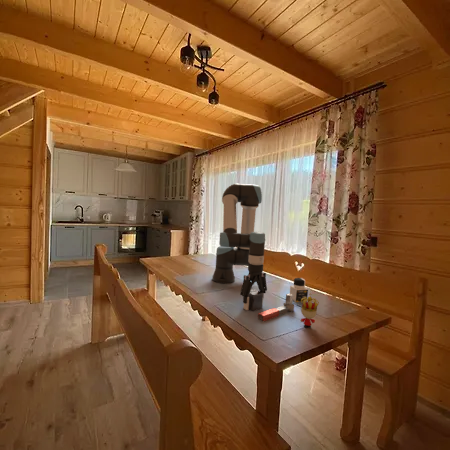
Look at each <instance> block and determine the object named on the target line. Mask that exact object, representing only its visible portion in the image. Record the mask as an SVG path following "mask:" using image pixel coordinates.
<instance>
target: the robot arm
mask: <svg viewBox="0 0 450 450" xmlns="http://www.w3.org/2000/svg"><path fill="white" fill-rule="evenodd" d="M262 193H263V192H262V188H261V186H260V185H258V184H253V183H252V184H249V183H247V184H246V183H233V184H231V185H230V186H228V187H227V188H226V189H225V190H224V191H223V194H222V196H221V197H222V198H221V202H222V204H223V217H222V218H223V225H222V226H223V227H222V228H223V229H222V232H219V246H218V247H217V248H216V253H215V255H216V256H215V268H214V272H213V274H212V277H211V278H212V281H214V282H215V283H220V284H231V283H234V282H235V280H236V277H235V273H234V266H243V267H244V266H245V267H247V270H248V274H247V275H245V274H244V275H243V282H242V285H241V289H240V294H239V295H240V296H242V299H243V300H242V304H243V306H242V307H243V308H242V309H244V310H245V311H249V309H248V308H249V297H248V295H249V293H250V290H252V288H253V285H254V284H255V283H256V284H257V287H258V291H260V292H262V293H263V299H264V296H265V295H264V294H266V292H267V291H268V287H267V286H268V285H267V278H266V277H267V273H266V272H264V260H265V248H266V246H265V244H266V234H265V232H261V231H255V225H256V224H255V223H256V210H257V208H258V207H259V204H260V205H261V203H262V201H263V194H262ZM237 203H239V204H240V206H241V208H242V211H241V223H240V224H241V226H240V232H238V223H237V222H238V220H237V219H238V218H237ZM263 301H264V300H263ZM263 301H262V307H263V305H264V303H263Z"/></svg>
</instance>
